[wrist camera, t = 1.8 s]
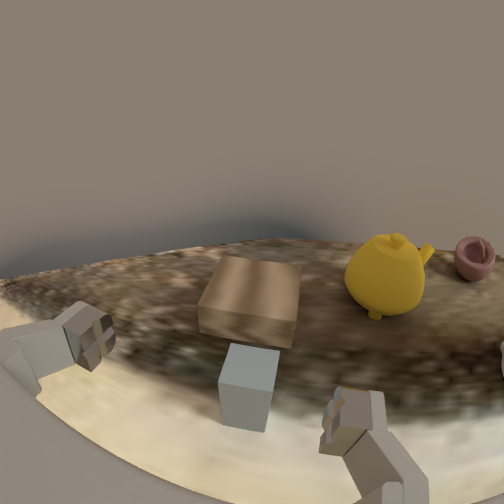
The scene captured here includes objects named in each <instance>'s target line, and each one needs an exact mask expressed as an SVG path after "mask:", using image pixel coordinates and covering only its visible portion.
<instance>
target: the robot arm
mask: <svg viewBox="0 0 504 504" xmlns="http://www.w3.org/2000/svg"><path fill="white" fill-rule="evenodd" d="M112 324H113V321H112V317H111V316H110V315H108V314H107V313H104V312H102V311H100V310H98V309H96V308H95V307H93V306H91V305H88V304H86V303H84V302H83V301H78V302H76V303H75V304H74V305H72V306H71V307H70V308H68V309H67V310H66V311H64V312H63V313H62V314H60V315H59V316H58V317H56V318H55V319H54V320H50V319H49V320H44V321H39V322H35V323H30V324H25V325H20V326H16V327H11V328H6V329H3V330H2V331H0V504H233V503H230V502H226V501H222V500H219V499H216V498H213V497H209V496H206V495H203V494H200V493H198V492H195V491H192V490H189V489H187V488H184V487H181V486H179V485H176V484H174V483H171V482H169V481H167V480H164V479H162V478H160V477H158V476H155V475H153V474H151V473H149V472H147V471H145V470H143V469H141V468H139V467H137V466H135V465H133V464H131V463H129V462H127V461H125V460H123V459H122V458H120V457H118V456H116V455H114V454H113V453H111V452H109V451H108V450H106V449H104V448H103V447H101V446H99V445H98V444H96V443H95V442H93V441H91V440H90V439H88V438H87V437H85V436H84V435H82V434H81V433H79V432H78V431H77V430H75V429H74V428H72V427H71V426H70V425H68V424H67V423H65V422H64V421H63V420H61V419H60V418H59V417H57V416H56V415H55V414H54V413H52V412H51V411H50V410H49V409H47V408H46V407H45V406H44V405H43V404H41V403H40V402H39V401H38V400H37V399H36V398H35V397H36V396H37V395H38V394H39V393H40V392H41V391H42V388H41V386H40V384H39V382H38V380H37V379H39V378H42V377H45V376H47V375H50V374H52V373H55V372H57V371H60V370H62V369H65V368H67V367H70V366H72V365H75V363H76V364H77V365H79V366H81V367H83V368H84V369H86V370H88V371H90V372H92V371H93V370H94V369H95V368H96V367H97V366H98V365H99V364H100V363H101V357H102V356H105V355H108V354H109V353H110V352H111V351H112V349H113V347H114V345H115V339H116V337H115V332H114V331H113V329H112V328H111V326H112ZM500 349H501V353H502V362H501V367H502V373H503V376H504V341H503V342H502V343H501V345H500ZM322 427H323V429H324V430H325V431H324V433H323V434H322V436H321V437H320V446H319V453H321V454H327V455H334V456H341V457H343V460H344V462H345V464H346V466H347V468H348V470H349V472H350V474H351V476H352V478H353V480H354V482H355V484H356V486H357V488H358V490H359V492H360V494H361V496H362V499H360V500H358V501H357V502H355V503H353V504H429V486H428V478H427V477H426V476H425V475H424V473H423V472H422V471H421V469H420V468H419V467H418V466H417V464H416V463H415V462H414V460H413V459H412V458H411V456H410V455H409V454H408V453H407V451H406V450H405V449H404V447H403V446H402V445H401V444H400V442H399V441H398V440H397V438H396V437H395V436H394V435H393V433H392V432H387V420H386V410H385V401H384V394H383V393H382V392H379V391H371V390H364V389H357V388H350V387H344V386H339V387H338V388H337V389H336V391H335V392H334V399H333V400H331V401H329V403H328V405H327V407H326V410H325V412H324V416H323V421H322ZM472 504H504V493H502V494H499V495H497V496H494V497H491V498H488V499H485V500H482V501H479V502H476V503H472Z"/></svg>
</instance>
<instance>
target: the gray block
mask: <svg viewBox="0 0 504 504" xmlns="http://www.w3.org/2000/svg"><path fill="white" fill-rule="evenodd" d="M279 354H280V351H276V350H269V349H263V348H257V347H251V346H245V345H239V344H234V343H231V345H230V348H229V351H228V354H227V357H226V359H225V362H224V365H223V368H222V371H221V374H220V377H219V380H218V388H219V398H220V407H221V416H222V425H226V426H231V427H236V428H241V429H246V430H252V431H257V432H265V428H266V423H267V418H268V413H269V409H270V404H271V399H272V394H273V388H274V383H275V377H276V372H277V366H278V360H279Z"/></svg>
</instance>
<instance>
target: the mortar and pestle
mask: <svg viewBox="0 0 504 504" xmlns="http://www.w3.org/2000/svg"><path fill="white" fill-rule="evenodd" d="M454 261H455V266H456V269H457V271H458V272H459V274H460V275H461V276H462V277H463V278H465V279H467V280H469V281H480V280H482V279H484V278H486V277H487V276H488V275H489V273H490V272H491V271H492V269H493V266H494V262H495V251H494V248H493V247H492V246H491V244H490V243H489V242H487V241H486V240H485V239H483V238H480V237H476V236H475V237H466V238H465V239H462V240H461V241H460V242H459V243H458V244H457V247H456V250H455V254H454Z"/></svg>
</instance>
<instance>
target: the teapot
mask: <svg viewBox="0 0 504 504" xmlns="http://www.w3.org/2000/svg"><path fill="white" fill-rule="evenodd" d="M434 251H435V250H434V249H433V248H432V247H431V246H430V245H429V244H427V243H425V244H424V246H423V247H422V248H421V250H420V251H418V249H417V248H416V247H415V246H414V245H413V244H412V243H410V242H408V241H407V238H406V237H405V236H403V235H402V234H399V233H391V234H390V235H386V234H382V235H377V236H374V237H373V238H371V239H370V240H369V241H368V242H366V243H365V244H364V245H363V246H362V247H361V248H360V249H359V250H358V251H357V252H356V253H355V254H354V256H353V257H352V259H351V260H350V262H349V264H348V266H347V268H346V271H345V276H344V278H345V284H346V287H347V288H348V290H349V293H350V295H352V297H353V298H354V299H355V300H356V301H357V302H358V303H359V304H360V305H361V306H363V307H364V308H366V309H367V310H369V311H368V316H369V317H370V318H371V319H373V320H380V319H381V318H382V315H388V316H391V315H398V314H402V313H405V312H408V311H410V310H412V309H413V308H415V307H416V306H417V305H418V304H419V302H420V300H421V298H422V294H423V290H424V282H425V276H424V269H423V266H424V265H425V264H426V262H427V261H428V259H429V258H430V257H431V255H432V254H433V252H434Z"/></svg>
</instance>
